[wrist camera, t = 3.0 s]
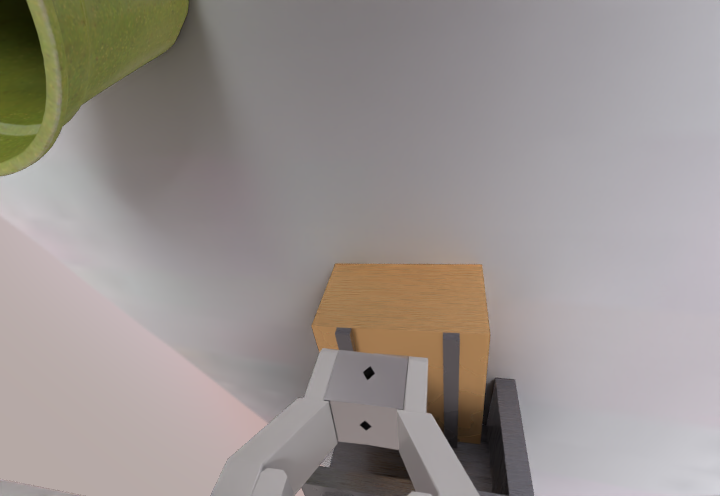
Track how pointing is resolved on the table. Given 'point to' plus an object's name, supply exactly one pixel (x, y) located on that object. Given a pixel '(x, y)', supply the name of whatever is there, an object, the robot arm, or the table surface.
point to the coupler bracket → (480, 461)
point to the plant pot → (70, 62)
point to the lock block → (417, 330)
